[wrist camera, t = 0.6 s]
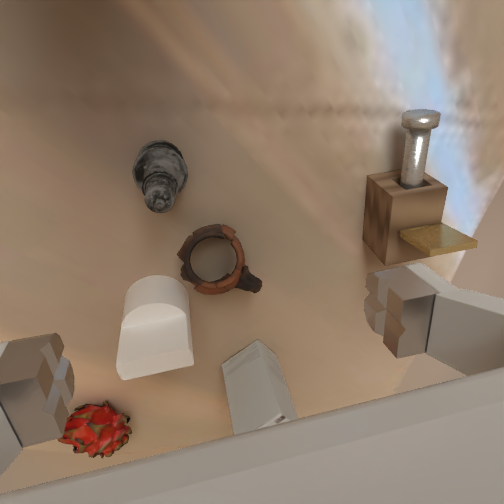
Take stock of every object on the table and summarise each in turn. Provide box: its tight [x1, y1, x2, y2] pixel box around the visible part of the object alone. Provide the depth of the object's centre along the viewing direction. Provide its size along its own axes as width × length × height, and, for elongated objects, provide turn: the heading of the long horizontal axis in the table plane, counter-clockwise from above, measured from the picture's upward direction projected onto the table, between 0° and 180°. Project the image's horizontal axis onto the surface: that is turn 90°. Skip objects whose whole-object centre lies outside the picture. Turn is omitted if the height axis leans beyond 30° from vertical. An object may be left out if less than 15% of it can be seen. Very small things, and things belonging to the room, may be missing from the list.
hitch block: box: [363, 170, 448, 266], centre depth 51 cm, size 10×7×7 cm
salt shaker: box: [133, 140, 188, 213], centre depth 40 cm, size 6×6×12 cm
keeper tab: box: [398, 222, 478, 257], centre depth 45 cm, size 7×6×1 cm
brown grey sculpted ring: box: [177, 224, 262, 295], centre depth 51 cm, size 12×10×8 cm
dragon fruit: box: [58, 401, 132, 458], centre depth 63 cm, size 8×8×12 cm
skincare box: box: [222, 339, 298, 435], centre depth 60 cm, size 8×6×15 cm
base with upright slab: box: [116, 275, 194, 381], centre depth 51 cm, size 9×9×12 cm
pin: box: [400, 109, 441, 190], centre depth 48 cm, size 16×4×4 cm, turn 6°
